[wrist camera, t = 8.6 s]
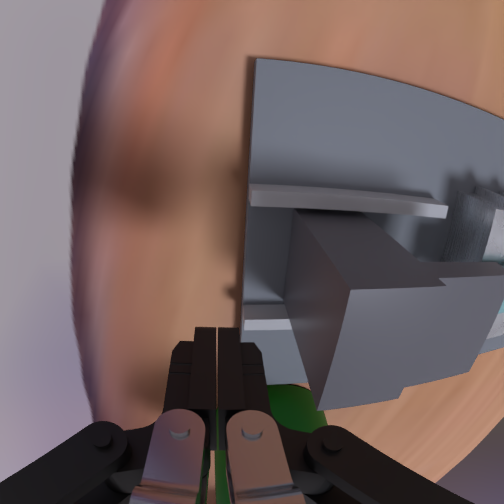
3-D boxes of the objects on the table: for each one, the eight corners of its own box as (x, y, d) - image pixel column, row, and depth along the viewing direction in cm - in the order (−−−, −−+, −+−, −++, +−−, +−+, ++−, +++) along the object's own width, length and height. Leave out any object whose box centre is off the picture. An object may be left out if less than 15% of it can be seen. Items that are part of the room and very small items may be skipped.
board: (501, 340, 27) (513, 354, 25) (238, 374, 24) (240, 401, 22) (559, 151, 18) (578, 157, 16) (254, 61, 15) (260, 52, 13)
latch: (407, 296, 21) (473, 378, 13) (283, 299, 20) (317, 411, 12) (428, 216, 18) (521, 280, 10) (293, 207, 18) (350, 290, 10)
